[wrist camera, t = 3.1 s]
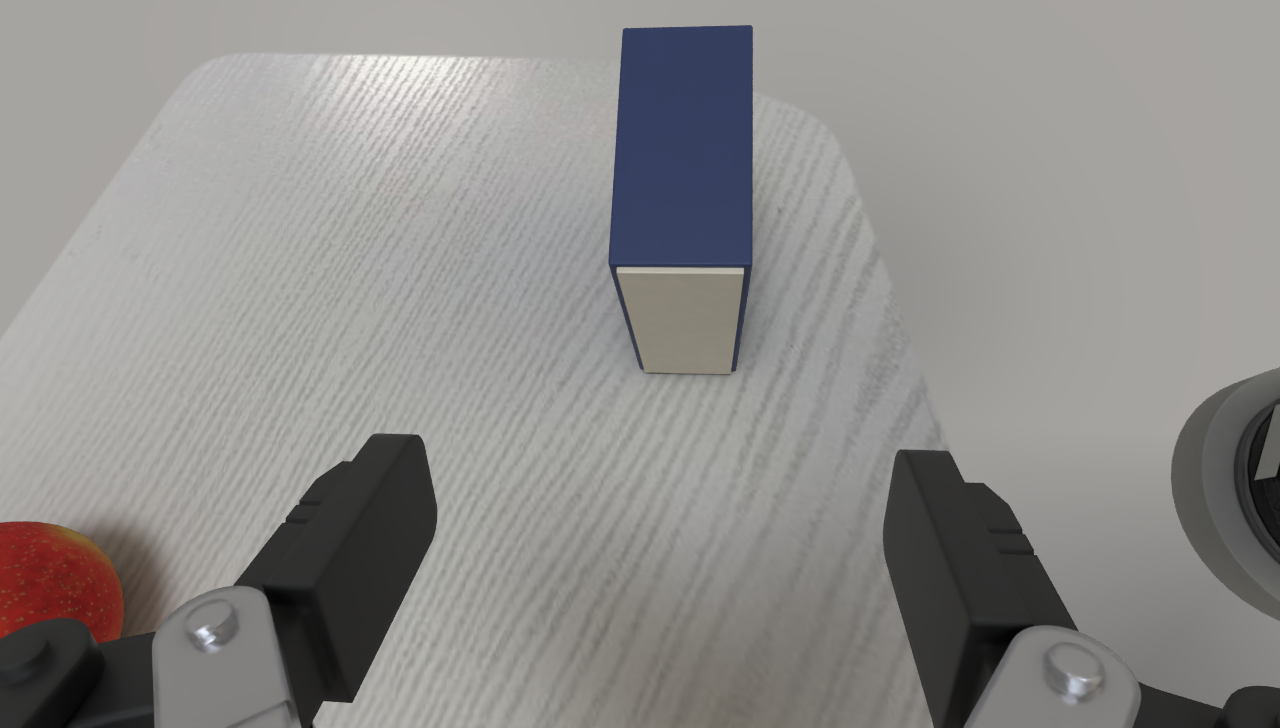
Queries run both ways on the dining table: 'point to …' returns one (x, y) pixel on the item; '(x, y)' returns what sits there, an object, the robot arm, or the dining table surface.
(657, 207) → the navy rectangular block
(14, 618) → the apple
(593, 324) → the dining table surface
